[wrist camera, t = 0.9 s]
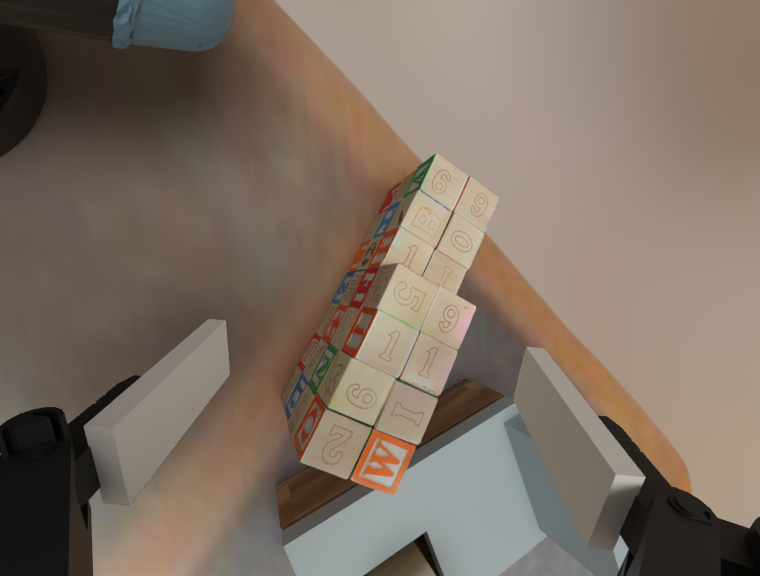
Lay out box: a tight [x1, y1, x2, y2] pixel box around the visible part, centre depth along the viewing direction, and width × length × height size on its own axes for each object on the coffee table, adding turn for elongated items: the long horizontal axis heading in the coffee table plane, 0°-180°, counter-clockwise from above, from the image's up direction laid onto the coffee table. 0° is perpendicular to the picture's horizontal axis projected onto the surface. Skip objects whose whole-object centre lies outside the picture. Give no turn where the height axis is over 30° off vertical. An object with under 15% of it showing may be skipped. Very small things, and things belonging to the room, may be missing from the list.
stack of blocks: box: [281, 154, 499, 495], centre depth 27 cm, size 21×6×12 cm, turn 152°
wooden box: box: [276, 379, 504, 576], centre depth 31 cm, size 12×20×6 cm, turn 111°
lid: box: [282, 396, 629, 576], centre depth 24 cm, size 12×20×9 cm, turn 111°
